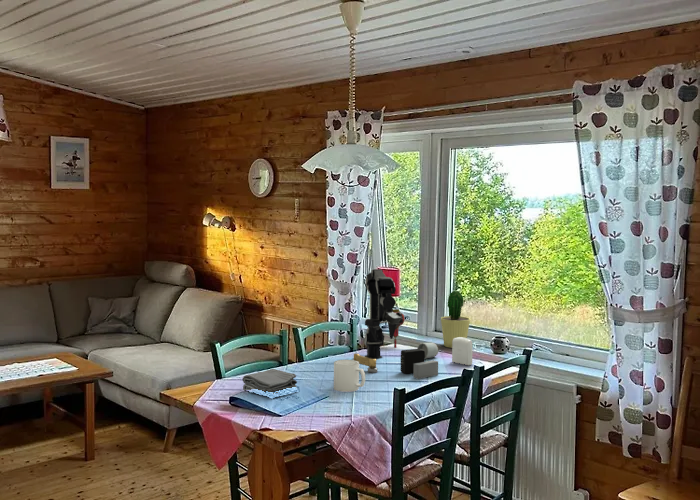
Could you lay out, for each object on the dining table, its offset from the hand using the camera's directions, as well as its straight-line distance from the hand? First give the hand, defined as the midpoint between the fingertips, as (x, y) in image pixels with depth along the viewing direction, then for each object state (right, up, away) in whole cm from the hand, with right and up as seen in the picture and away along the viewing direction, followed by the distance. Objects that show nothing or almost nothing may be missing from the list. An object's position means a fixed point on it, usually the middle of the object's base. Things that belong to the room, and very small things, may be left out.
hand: (383, 339), depth 309 cm
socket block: (+18, -14, -11) cm, 25 cm away
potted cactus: (+40, -11, +55) cm, 69 cm away
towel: (-47, -16, -38) cm, 62 cm away
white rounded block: (+38, -13, +14) cm, 42 cm away
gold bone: (-9, -11, 0) cm, 14 cm away
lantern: (+8, -11, +49) cm, 50 cm away
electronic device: (+13, -14, -4) cm, 19 cm away
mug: (-16, -16, -32) cm, 39 cm away
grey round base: (-5, -14, -4) cm, 15 cm away
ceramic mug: (+22, -12, +27) cm, 36 cm away
